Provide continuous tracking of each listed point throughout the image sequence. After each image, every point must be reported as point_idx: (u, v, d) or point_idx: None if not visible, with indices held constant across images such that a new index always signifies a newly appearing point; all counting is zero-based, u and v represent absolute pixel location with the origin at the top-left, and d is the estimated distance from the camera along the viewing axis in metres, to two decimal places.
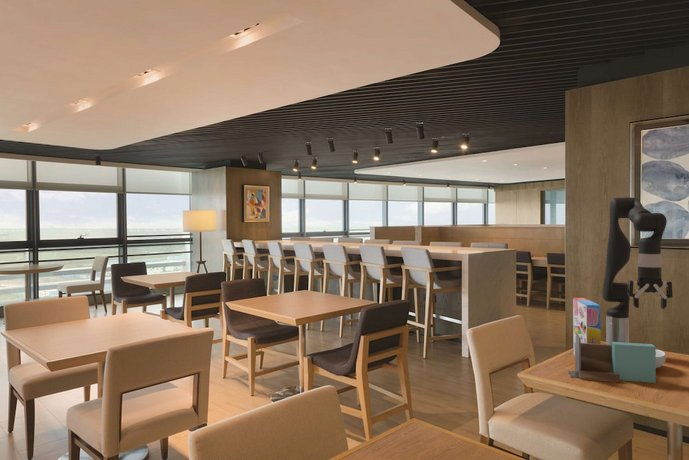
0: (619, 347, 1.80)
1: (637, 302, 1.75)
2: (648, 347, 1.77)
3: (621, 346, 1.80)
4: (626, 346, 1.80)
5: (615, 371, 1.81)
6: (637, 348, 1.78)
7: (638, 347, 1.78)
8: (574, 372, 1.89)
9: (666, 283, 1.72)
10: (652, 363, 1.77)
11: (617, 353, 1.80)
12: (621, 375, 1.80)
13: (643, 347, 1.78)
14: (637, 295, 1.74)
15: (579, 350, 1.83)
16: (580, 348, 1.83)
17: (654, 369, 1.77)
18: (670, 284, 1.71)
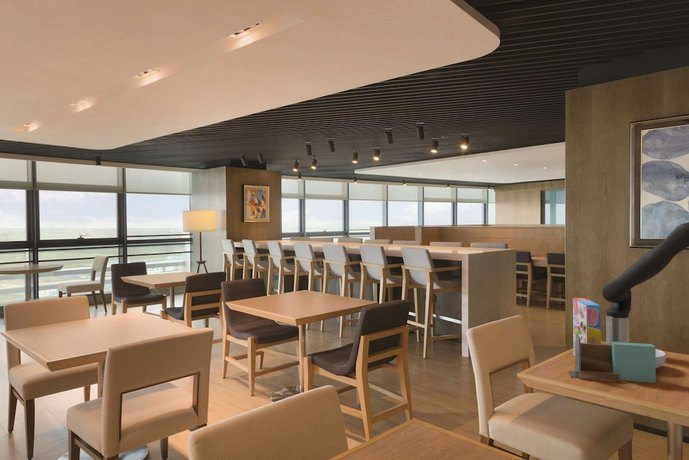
0: (619, 347, 1.80)
1: None
2: (648, 347, 1.77)
3: (621, 346, 1.80)
4: (626, 346, 1.80)
5: (615, 371, 1.81)
6: (637, 348, 1.78)
7: (638, 347, 1.78)
8: (574, 372, 1.89)
9: None
10: (652, 363, 1.77)
11: (617, 353, 1.80)
12: (621, 375, 1.80)
13: (643, 347, 1.78)
14: None
15: (579, 350, 1.83)
16: (580, 348, 1.83)
17: (654, 369, 1.77)
18: None
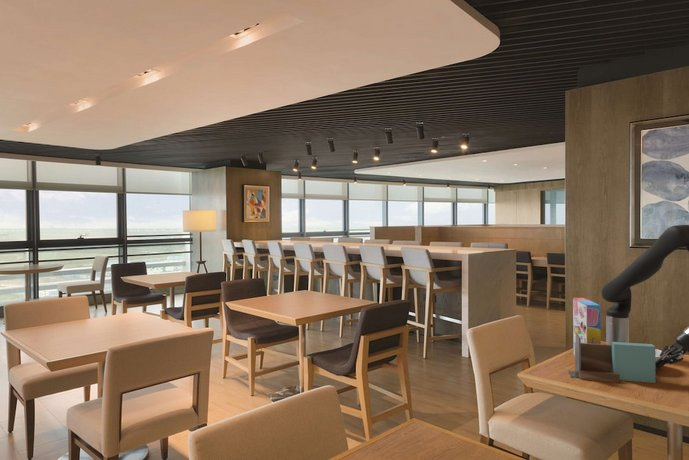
0: (619, 347, 1.80)
1: None
2: (648, 347, 1.77)
3: (621, 346, 1.80)
4: (626, 346, 1.80)
5: (615, 371, 1.81)
6: (637, 348, 1.78)
7: (638, 347, 1.78)
8: (574, 372, 1.89)
9: None
10: (652, 363, 1.77)
11: (617, 353, 1.80)
12: (621, 375, 1.80)
13: (643, 347, 1.78)
14: None
15: (579, 350, 1.83)
16: (580, 348, 1.83)
17: (654, 369, 1.77)
18: None
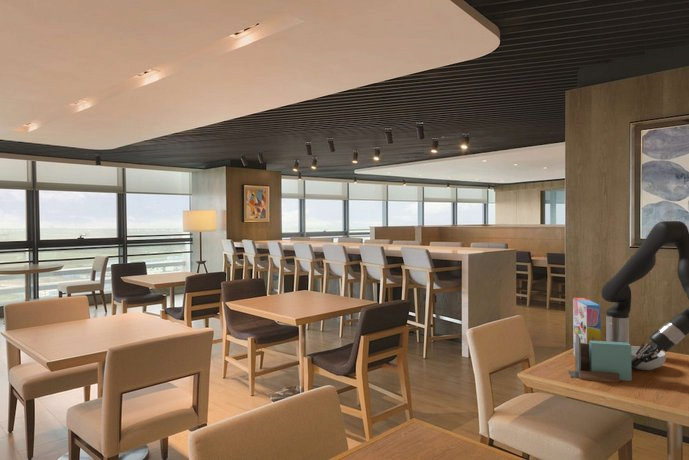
0: (596, 345, 1.82)
1: (638, 364, 1.80)
2: (624, 345, 1.80)
3: (598, 345, 1.82)
4: (603, 345, 1.82)
5: (592, 369, 1.83)
6: (613, 346, 1.81)
7: (614, 345, 1.81)
8: (574, 372, 1.89)
9: None
10: (628, 362, 1.79)
11: (594, 351, 1.83)
12: None
13: (619, 345, 1.80)
14: None
15: (579, 350, 1.83)
16: (580, 348, 1.83)
17: (630, 367, 1.79)
18: None
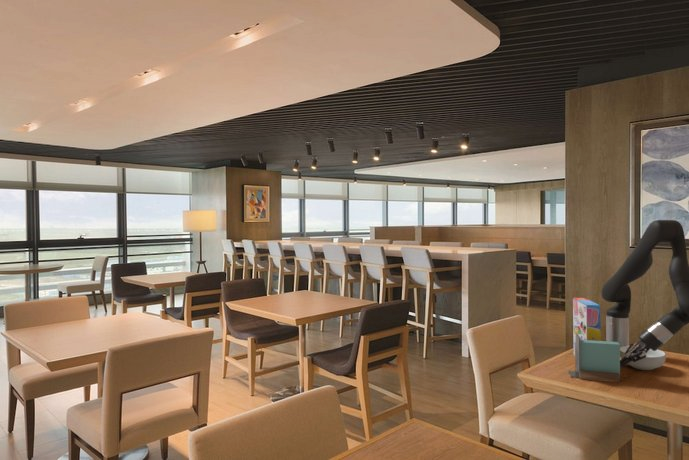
0: (585, 345, 1.84)
1: (626, 363, 1.81)
2: (613, 345, 1.81)
3: (587, 344, 1.84)
4: (591, 344, 1.83)
5: (581, 368, 1.85)
6: (602, 346, 1.82)
7: (603, 345, 1.82)
8: (574, 372, 1.89)
9: None
10: (617, 361, 1.80)
11: (583, 350, 1.84)
12: None
13: (608, 345, 1.81)
14: None
15: (579, 350, 1.83)
16: (580, 348, 1.83)
17: (618, 366, 1.80)
18: None
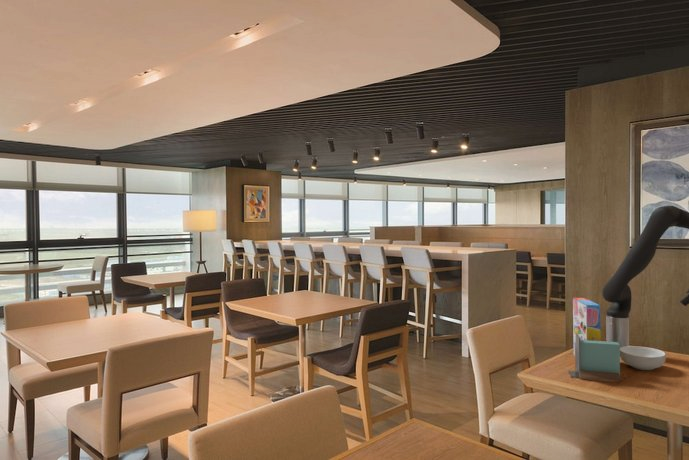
0: (585, 345, 1.84)
1: None
2: (613, 345, 1.81)
3: (587, 344, 1.84)
4: (591, 344, 1.83)
5: (581, 368, 1.85)
6: (602, 346, 1.82)
7: (603, 345, 1.82)
8: (574, 372, 1.89)
9: None
10: (617, 361, 1.80)
11: (583, 350, 1.84)
12: None
13: (608, 345, 1.81)
14: None
15: (579, 350, 1.83)
16: (580, 348, 1.83)
17: (618, 366, 1.80)
18: None
